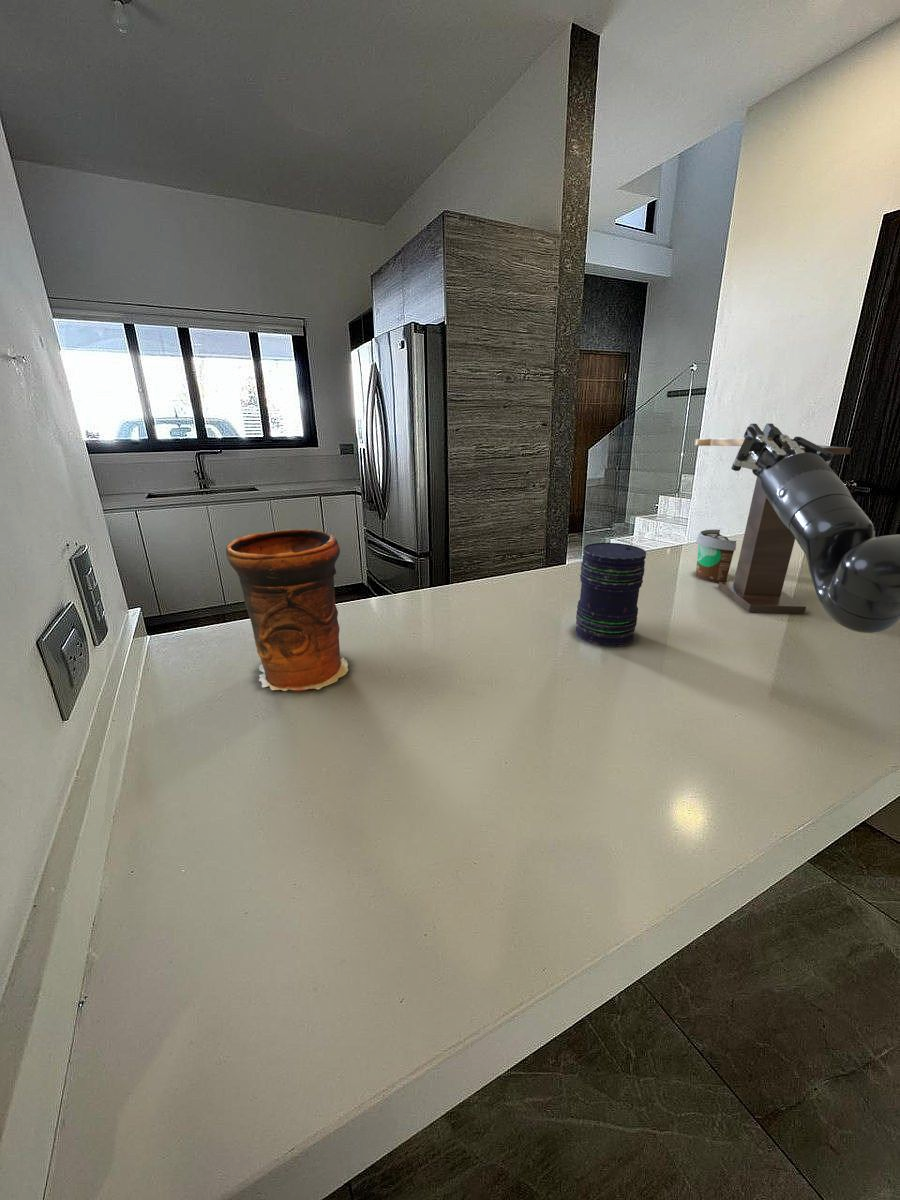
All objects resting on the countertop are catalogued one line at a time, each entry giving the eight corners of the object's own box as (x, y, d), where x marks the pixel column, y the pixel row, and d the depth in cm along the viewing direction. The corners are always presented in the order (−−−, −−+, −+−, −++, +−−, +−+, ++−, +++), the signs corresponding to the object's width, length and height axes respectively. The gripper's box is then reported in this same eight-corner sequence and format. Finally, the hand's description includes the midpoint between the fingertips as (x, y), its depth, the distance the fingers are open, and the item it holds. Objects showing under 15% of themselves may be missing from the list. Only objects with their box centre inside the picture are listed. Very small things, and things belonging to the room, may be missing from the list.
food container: (684, 568, 118) (691, 528, 115) (711, 569, 117) (719, 529, 113) (697, 583, 107) (706, 540, 103) (727, 585, 106) (737, 541, 102)
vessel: (237, 702, 63) (209, 556, 56) (260, 653, 76) (239, 529, 69) (348, 693, 65) (335, 550, 58) (352, 646, 78) (341, 525, 71)
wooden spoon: (781, 446, 72) (783, 437, 72) (748, 446, 72) (750, 437, 72) (715, 445, 93) (716, 438, 93) (689, 445, 93) (690, 439, 93)
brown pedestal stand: (804, 614, 90) (851, 448, 80) (748, 612, 91) (787, 447, 81) (766, 589, 103) (802, 443, 93) (717, 587, 104) (748, 443, 94)
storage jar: (600, 651, 76) (611, 561, 71) (562, 628, 85) (570, 546, 79) (647, 640, 80) (661, 554, 75) (607, 619, 88) (616, 540, 83)
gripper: (739, 518, 66) (703, 450, 77) (845, 519, 65) (792, 450, 76) (764, 470, 60) (721, 405, 72) (880, 471, 59) (817, 405, 71)
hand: (758, 429), depth 74 cm, fingers closed on wooden spoon
